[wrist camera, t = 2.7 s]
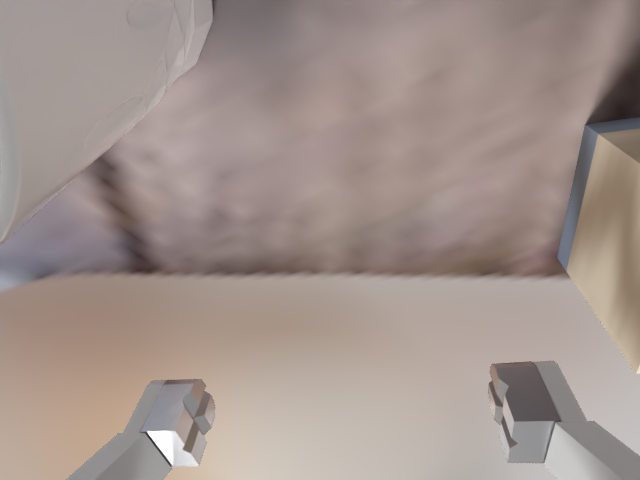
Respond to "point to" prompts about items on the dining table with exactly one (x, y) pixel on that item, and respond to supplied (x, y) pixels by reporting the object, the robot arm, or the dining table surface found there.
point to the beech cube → (607, 230)
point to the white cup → (81, 85)
